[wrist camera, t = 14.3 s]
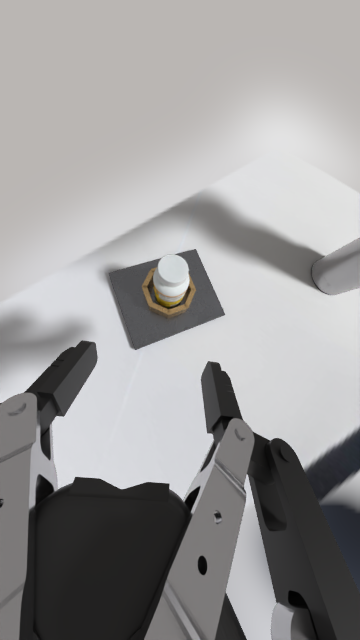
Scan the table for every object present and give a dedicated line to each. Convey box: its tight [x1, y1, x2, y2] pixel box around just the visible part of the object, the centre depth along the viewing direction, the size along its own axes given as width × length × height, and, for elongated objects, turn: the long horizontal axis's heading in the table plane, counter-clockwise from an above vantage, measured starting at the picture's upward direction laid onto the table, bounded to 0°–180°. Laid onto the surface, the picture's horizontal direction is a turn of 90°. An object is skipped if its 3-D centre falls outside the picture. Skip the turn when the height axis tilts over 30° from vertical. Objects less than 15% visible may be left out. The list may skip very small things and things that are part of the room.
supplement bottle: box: [153, 254, 189, 308], centre depth 23 cm, size 5×5×10 cm
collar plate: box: [109, 249, 225, 350], centre depth 27 cm, size 18×15×4 cm
